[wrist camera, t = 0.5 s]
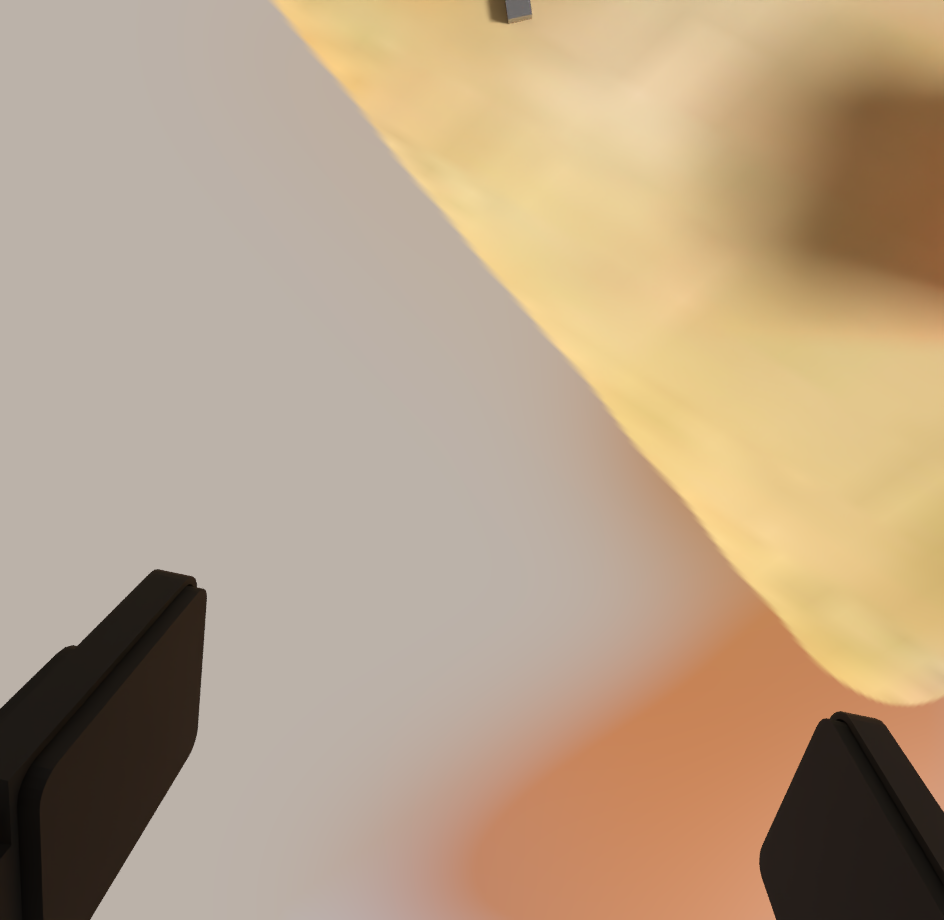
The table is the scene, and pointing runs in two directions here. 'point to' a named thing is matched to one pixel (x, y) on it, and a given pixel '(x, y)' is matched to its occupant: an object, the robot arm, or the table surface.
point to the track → (518, 10)
